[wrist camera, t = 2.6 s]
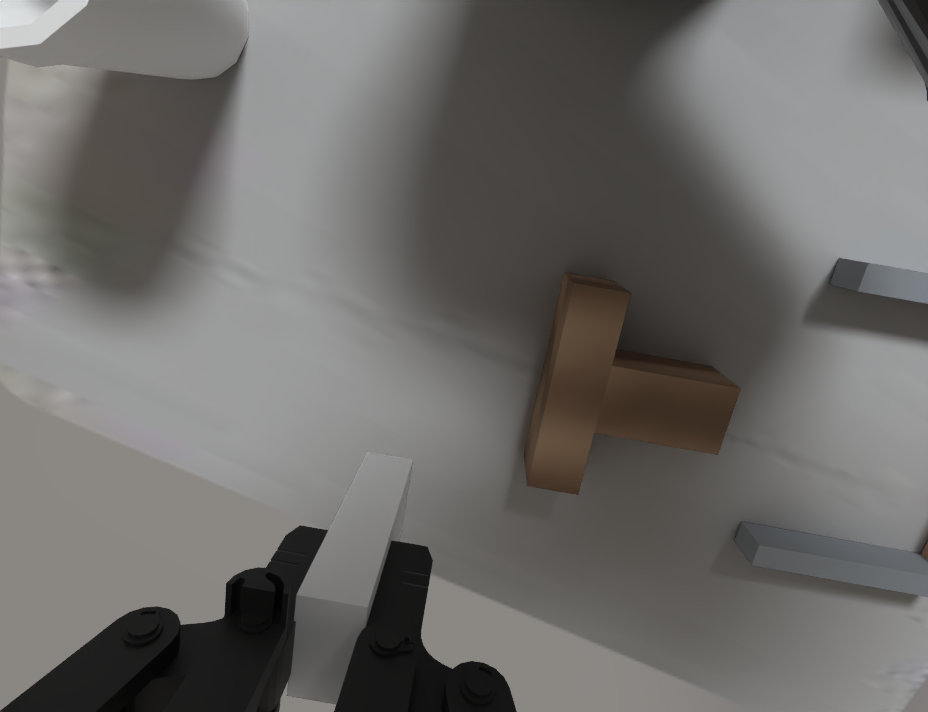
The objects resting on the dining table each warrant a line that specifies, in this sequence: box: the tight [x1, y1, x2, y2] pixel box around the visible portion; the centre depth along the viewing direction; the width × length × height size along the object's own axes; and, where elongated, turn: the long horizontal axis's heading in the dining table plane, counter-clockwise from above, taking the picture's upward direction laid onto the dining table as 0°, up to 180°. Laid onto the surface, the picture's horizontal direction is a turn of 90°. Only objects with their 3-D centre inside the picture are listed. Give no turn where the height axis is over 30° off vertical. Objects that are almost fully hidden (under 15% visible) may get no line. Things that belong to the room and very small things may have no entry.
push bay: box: [735, 258, 928, 597], centre depth 32 cm, size 19×14×2 cm
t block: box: [524, 273, 740, 495], centre depth 31 cm, size 12×10×4 cm
